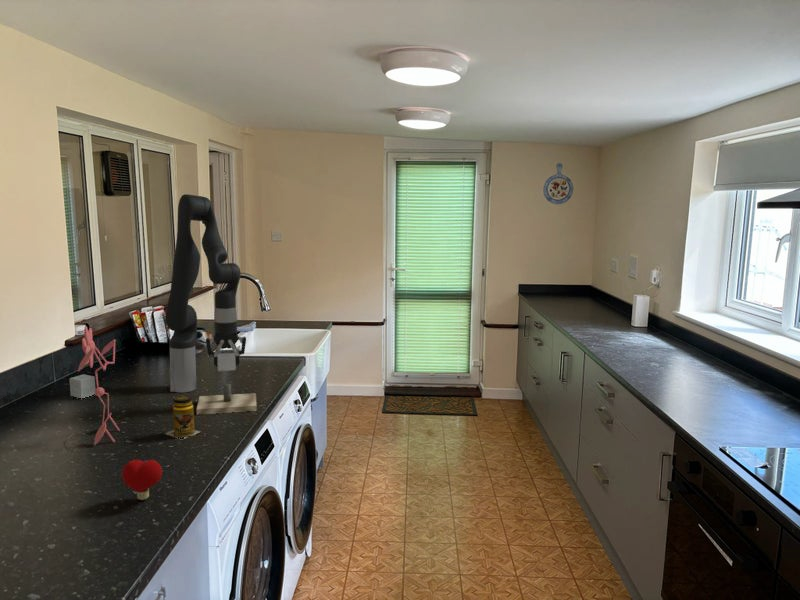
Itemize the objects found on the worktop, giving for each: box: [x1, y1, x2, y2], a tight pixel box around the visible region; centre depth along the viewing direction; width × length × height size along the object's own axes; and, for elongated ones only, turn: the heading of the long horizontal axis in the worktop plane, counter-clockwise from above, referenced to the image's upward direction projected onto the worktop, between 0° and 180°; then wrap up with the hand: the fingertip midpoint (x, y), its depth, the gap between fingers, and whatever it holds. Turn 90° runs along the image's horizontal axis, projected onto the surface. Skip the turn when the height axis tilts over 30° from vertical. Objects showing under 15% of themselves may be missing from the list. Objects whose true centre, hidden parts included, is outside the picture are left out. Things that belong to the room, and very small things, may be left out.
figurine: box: [64, 325, 126, 452], centre depth 173 cm, size 15×26×35 cm, turn 17°
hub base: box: [196, 383, 258, 416], centre depth 206 cm, size 20×14×8 cm
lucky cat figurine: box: [195, 329, 213, 355], centre depth 280 cm, size 15×12×14 cm
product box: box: [69, 374, 96, 400], centre depth 213 cm, size 6×6×7 cm
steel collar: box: [217, 349, 237, 372], centre depth 204 cm, size 6×6×6 cm
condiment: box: [165, 394, 201, 440], centre depth 181 cm, size 7×8×12 cm
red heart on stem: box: [121, 459, 163, 501], centre depth 140 cm, size 9×7×10 cm
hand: (226, 365), depth 205 cm, fingers closed on steel collar, 6 cm apart
